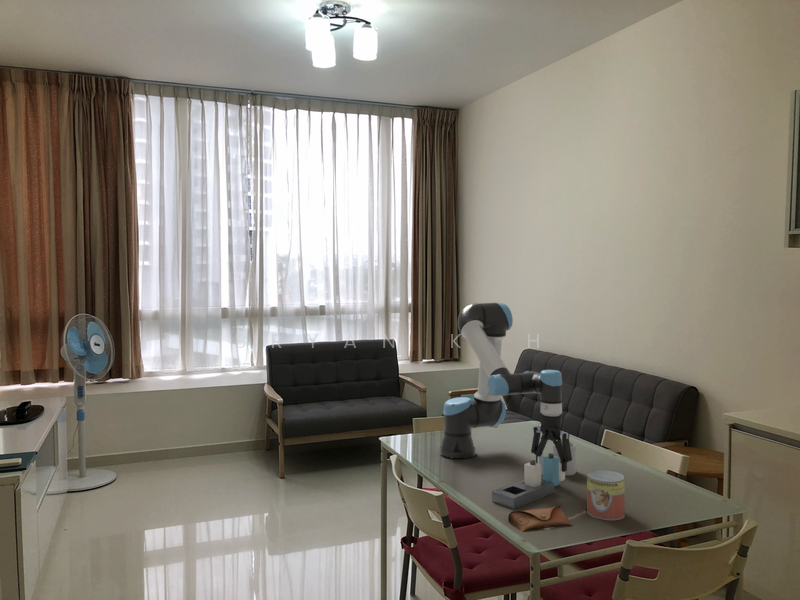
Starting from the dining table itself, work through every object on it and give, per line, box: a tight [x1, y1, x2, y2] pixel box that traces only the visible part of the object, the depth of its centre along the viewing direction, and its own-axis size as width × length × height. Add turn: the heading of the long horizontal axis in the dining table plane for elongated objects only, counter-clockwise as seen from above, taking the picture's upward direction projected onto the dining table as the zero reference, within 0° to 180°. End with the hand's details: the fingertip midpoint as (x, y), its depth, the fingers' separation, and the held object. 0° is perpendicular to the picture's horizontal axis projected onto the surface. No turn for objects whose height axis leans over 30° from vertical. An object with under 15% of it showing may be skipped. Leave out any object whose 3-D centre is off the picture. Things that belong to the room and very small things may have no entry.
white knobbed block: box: [523, 459, 542, 488], centre depth 203 cm, size 4×4×11 cm
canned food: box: [586, 469, 626, 521], centre depth 187 cm, size 11×11×12 cm
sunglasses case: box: [508, 505, 574, 533], centre depth 180 cm, size 18×7×7 cm
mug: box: [552, 441, 577, 476], centre depth 228 cm, size 12×8×11 cm
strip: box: [491, 478, 555, 510], centre depth 200 cm, size 22×9×4 cm, turn 131°
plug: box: [542, 452, 560, 488], centre depth 212 cm, size 4×4×11 cm
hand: (551, 476), depth 212 cm, fingers open, 8 cm apart
